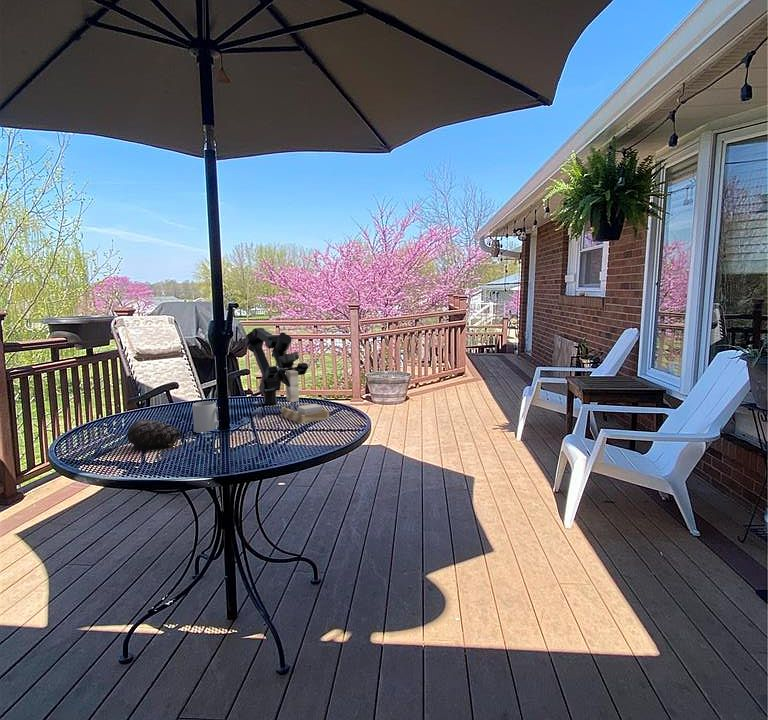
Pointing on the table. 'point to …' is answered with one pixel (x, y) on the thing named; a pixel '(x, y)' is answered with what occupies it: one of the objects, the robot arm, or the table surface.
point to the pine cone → (152, 435)
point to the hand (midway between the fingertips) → (293, 385)
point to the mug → (205, 416)
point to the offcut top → (309, 409)
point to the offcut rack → (304, 418)
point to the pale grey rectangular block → (292, 386)
